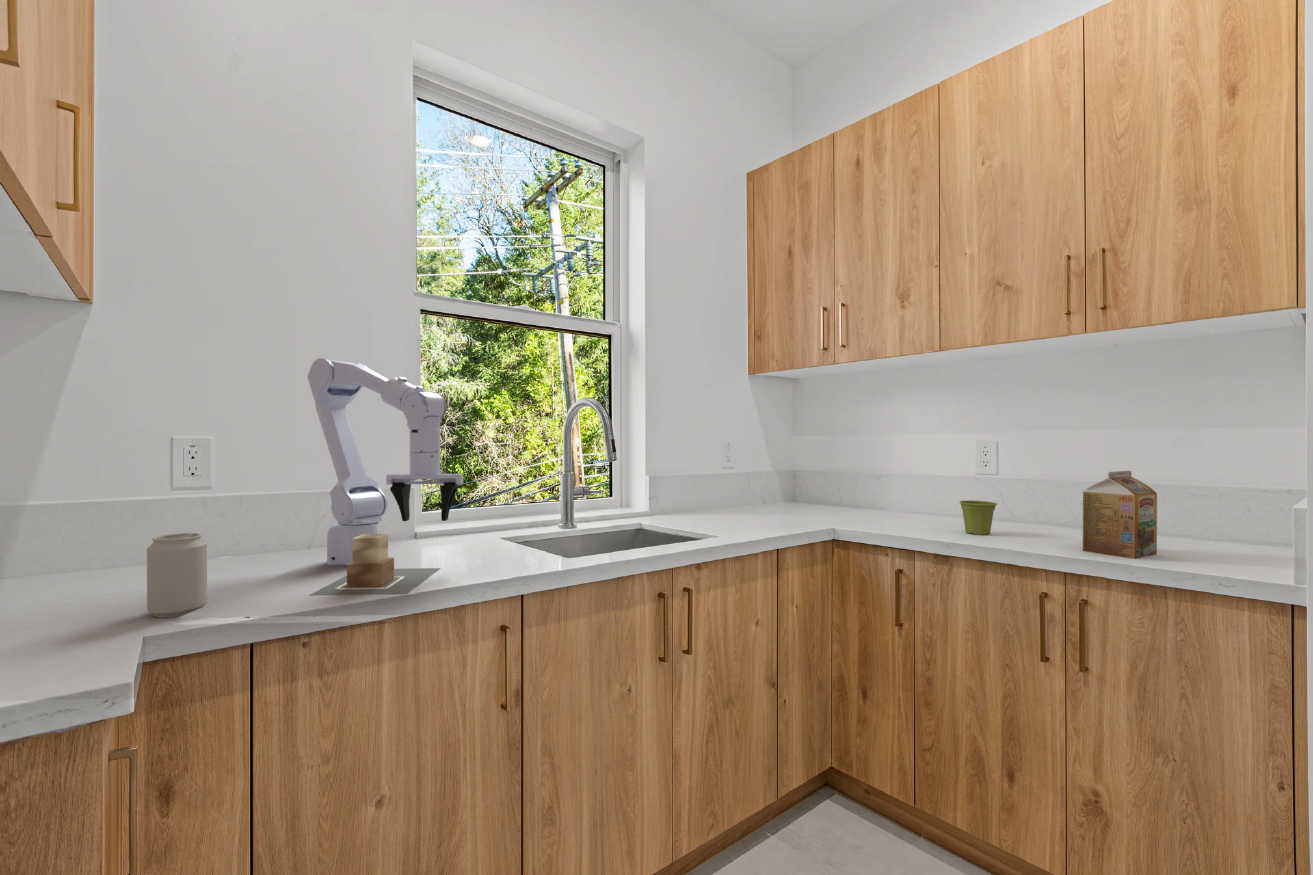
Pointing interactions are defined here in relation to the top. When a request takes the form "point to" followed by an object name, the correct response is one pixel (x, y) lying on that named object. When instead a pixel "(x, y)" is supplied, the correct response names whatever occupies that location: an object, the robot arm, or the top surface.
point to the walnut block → (370, 574)
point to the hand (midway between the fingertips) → (425, 520)
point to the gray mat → (399, 585)
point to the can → (176, 574)
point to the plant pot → (978, 516)
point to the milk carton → (1120, 517)
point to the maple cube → (370, 548)
